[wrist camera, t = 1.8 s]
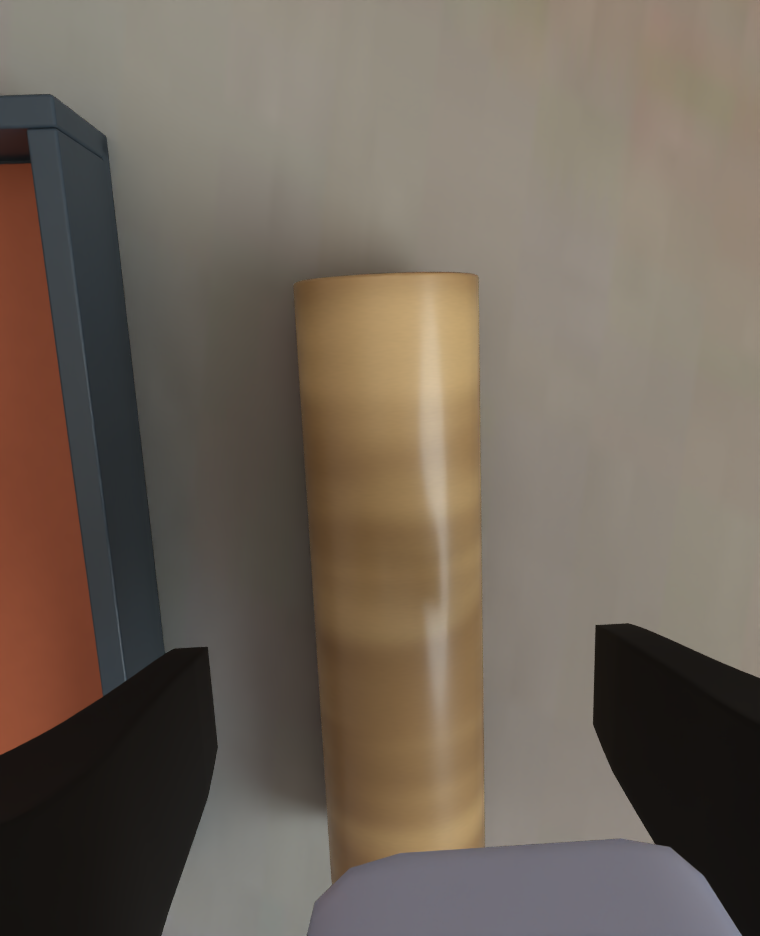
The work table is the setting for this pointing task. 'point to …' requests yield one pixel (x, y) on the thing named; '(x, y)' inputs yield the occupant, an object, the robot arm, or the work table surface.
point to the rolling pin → (395, 556)
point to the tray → (66, 431)
